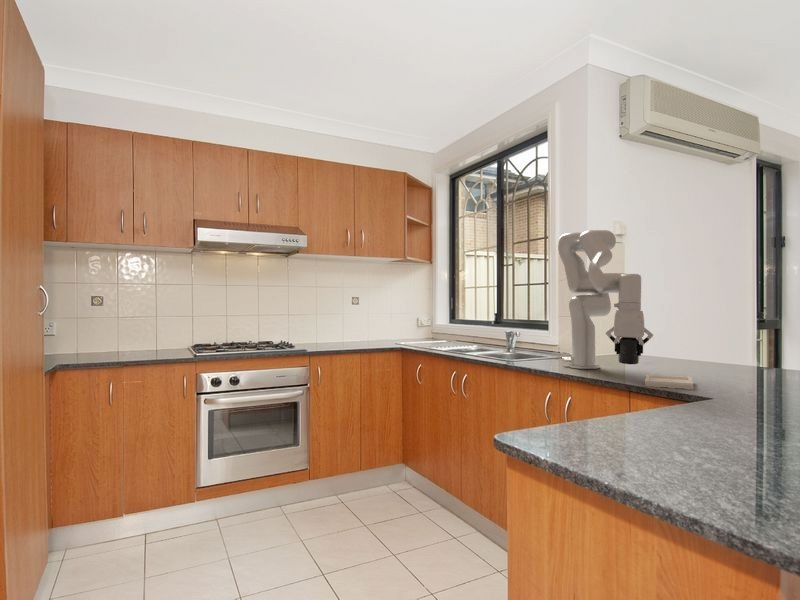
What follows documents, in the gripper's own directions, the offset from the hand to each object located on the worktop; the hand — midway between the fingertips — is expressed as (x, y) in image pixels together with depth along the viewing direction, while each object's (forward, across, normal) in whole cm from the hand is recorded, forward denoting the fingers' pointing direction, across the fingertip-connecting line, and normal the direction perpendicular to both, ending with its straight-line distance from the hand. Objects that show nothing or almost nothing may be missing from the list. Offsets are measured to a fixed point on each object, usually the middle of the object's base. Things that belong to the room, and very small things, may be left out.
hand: (628, 354), depth 177 cm
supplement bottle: (+4, 0, 0) cm, 4 cm away
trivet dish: (+9, +13, -7) cm, 17 cm away
